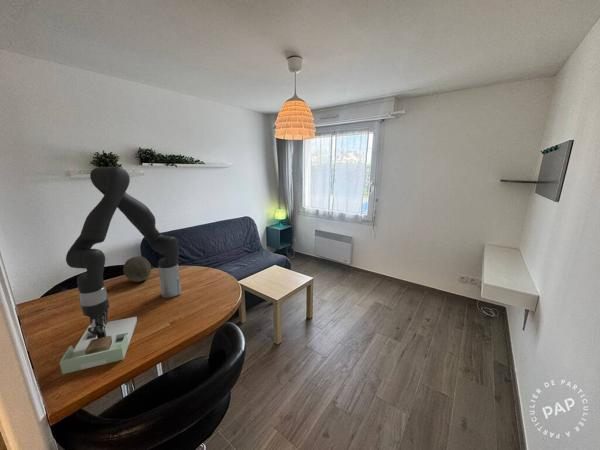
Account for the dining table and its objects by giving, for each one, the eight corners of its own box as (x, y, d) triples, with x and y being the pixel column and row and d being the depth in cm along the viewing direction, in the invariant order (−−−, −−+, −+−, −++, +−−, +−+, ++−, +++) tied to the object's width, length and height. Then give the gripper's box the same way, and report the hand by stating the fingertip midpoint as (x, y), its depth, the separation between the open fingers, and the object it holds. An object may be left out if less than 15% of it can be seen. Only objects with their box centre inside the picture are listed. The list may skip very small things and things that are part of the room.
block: (112, 342, 91) (111, 335, 90) (107, 353, 86) (106, 346, 85) (92, 346, 89) (91, 339, 88) (86, 358, 83) (85, 351, 83)
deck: (137, 320, 107) (135, 310, 106) (123, 359, 86) (121, 347, 85) (89, 329, 100) (87, 319, 99) (62, 374, 79) (59, 362, 78)
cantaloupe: (157, 275, 150) (154, 253, 146) (144, 286, 136) (140, 262, 132) (134, 275, 149) (131, 253, 145) (118, 286, 135) (114, 262, 131)
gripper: (100, 307, 82) (108, 348, 87) (112, 289, 94) (118, 325, 98) (73, 312, 79) (82, 354, 84) (88, 292, 91) (96, 330, 95)
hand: (102, 338), depth 91 cm, fingers closed
